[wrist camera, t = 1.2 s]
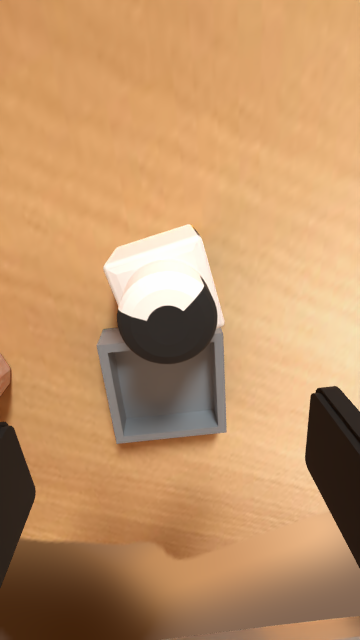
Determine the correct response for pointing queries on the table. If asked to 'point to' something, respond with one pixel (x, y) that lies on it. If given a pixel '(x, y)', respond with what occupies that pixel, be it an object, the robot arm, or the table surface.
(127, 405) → the bin
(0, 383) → the vase
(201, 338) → the medicine bottle
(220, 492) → the table surface
